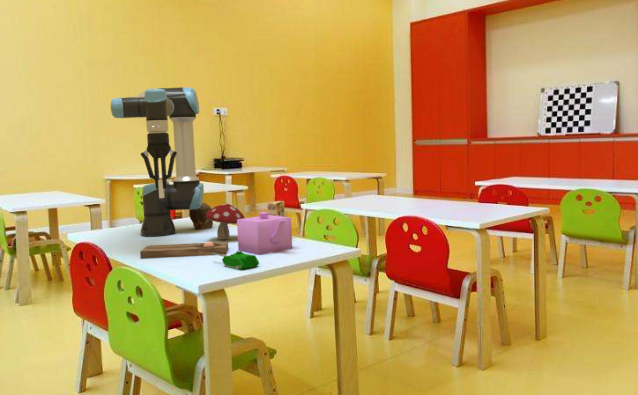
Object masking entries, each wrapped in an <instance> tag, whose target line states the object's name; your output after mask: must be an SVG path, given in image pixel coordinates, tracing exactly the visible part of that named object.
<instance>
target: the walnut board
mask: <svg viewBox="0 0 638 395" xmlns="http://www.w3.org/2000/svg"><path fill="white" fill-rule="evenodd" d="M205 243H206V242H198V243H195V242H194V243H193V242H192V243H177V244H175V243H174V244H155V245H154V244H151V245H146V246H145V247H144V248H142V249H141V251H140V257H139V258H140V259H141V260H142V259H157V258H158V259H160V258H162V259H163V258H178V257H179V258H180V257H198V256H213V255H212V253H216V254H221V255H227V254H228V251H229V242H228V241H217V242H216V241H215V242H212V243H213V244H214V246H211V247H203V245H204V244H205Z"/></svg>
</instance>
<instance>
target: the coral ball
mask: <svg viewBox="0 0 638 395" xmlns="http://www.w3.org/2000/svg"><path fill="white" fill-rule="evenodd" d="M204 243H205V244H204V245H203V247H211V246H214V244H213V242H212V241H210V240H209V241H206V242H204Z"/></svg>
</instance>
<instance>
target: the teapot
mask: <svg viewBox="0 0 638 395" xmlns="http://www.w3.org/2000/svg"><path fill="white" fill-rule="evenodd" d="M258 214H259V215H258V216H254V217H252V216H251V217H246V218H244V219H237V224H236V225H237V226H236V227H237V229H236V230H237V248H238V250H237V251H240V252H241V251H242V253H246V254H251V255H255V256H261V255H265V254H271V252H272V253H278V252H281V251H287V250H286V249H288V250H292V249H293V237H292V236H293V231H292V230H293V229H292V217H289V216H288V217H287V216H285V217H282V216H274V215H268V214H269V213H268V211H261V212H258Z"/></svg>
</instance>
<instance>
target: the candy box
mask: <svg viewBox="0 0 638 395" xmlns="http://www.w3.org/2000/svg"><path fill="white" fill-rule="evenodd" d="M267 212H268V213H269V214H268V215H274V216H282V217H286V214H285V212H286V211H285V201H284V200H275V201H272V202H268V203H267Z"/></svg>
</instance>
